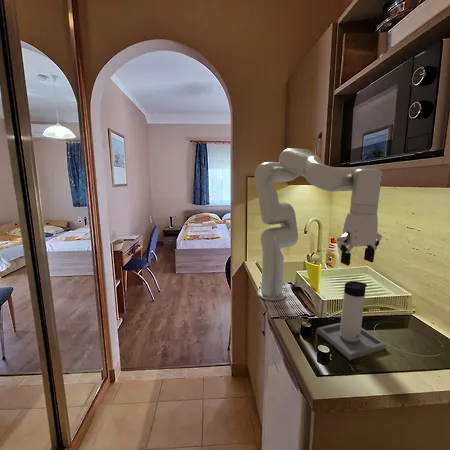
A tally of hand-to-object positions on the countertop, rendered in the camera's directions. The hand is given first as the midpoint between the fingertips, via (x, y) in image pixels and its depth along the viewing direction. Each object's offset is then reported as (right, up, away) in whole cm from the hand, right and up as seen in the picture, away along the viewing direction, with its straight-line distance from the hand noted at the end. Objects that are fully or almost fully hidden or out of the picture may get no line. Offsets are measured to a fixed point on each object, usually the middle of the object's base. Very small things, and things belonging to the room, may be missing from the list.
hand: (356, 262), depth 87 cm
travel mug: (0, -27, +5) cm, 27 cm away
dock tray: (0, -27, +5) cm, 28 cm away
